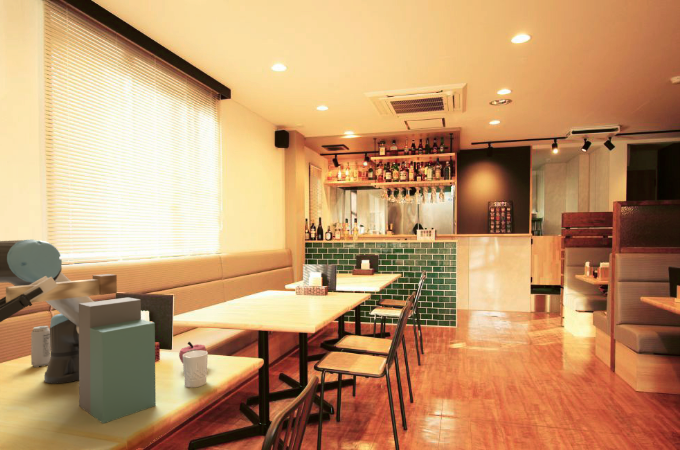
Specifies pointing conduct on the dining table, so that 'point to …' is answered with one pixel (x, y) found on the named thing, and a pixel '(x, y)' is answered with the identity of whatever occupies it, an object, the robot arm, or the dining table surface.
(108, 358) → the stand
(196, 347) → the apple
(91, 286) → the wooden bar
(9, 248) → the robot arm
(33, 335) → the energy drink can
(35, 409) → the dining table surface
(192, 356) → the white cup
